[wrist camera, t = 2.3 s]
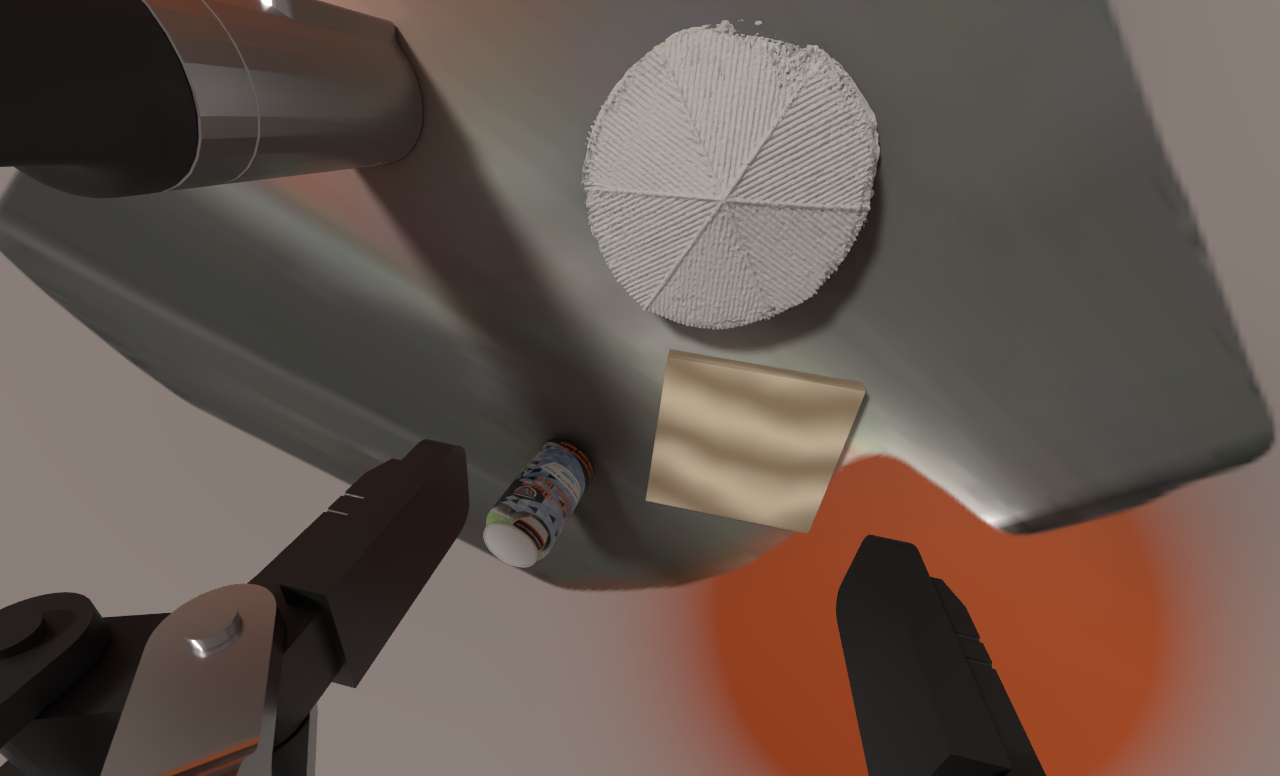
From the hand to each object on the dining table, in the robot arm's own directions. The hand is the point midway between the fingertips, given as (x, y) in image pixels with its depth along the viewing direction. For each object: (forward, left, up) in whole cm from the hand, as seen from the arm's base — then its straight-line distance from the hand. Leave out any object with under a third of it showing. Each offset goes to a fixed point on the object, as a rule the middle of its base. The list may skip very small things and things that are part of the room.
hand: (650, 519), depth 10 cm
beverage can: (+24, -11, -30) cm, 40 cm away
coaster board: (+18, +6, -30) cm, 36 cm away
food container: (-3, 0, -31) cm, 31 cm away
